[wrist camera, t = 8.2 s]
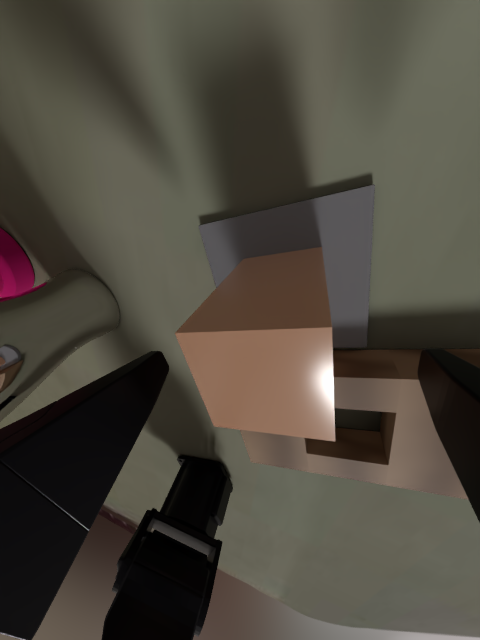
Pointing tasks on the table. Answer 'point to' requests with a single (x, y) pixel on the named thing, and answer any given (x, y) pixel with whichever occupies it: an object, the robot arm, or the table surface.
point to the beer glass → (49, 330)
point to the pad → (305, 233)
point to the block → (266, 347)
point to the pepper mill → (13, 267)
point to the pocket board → (370, 446)
